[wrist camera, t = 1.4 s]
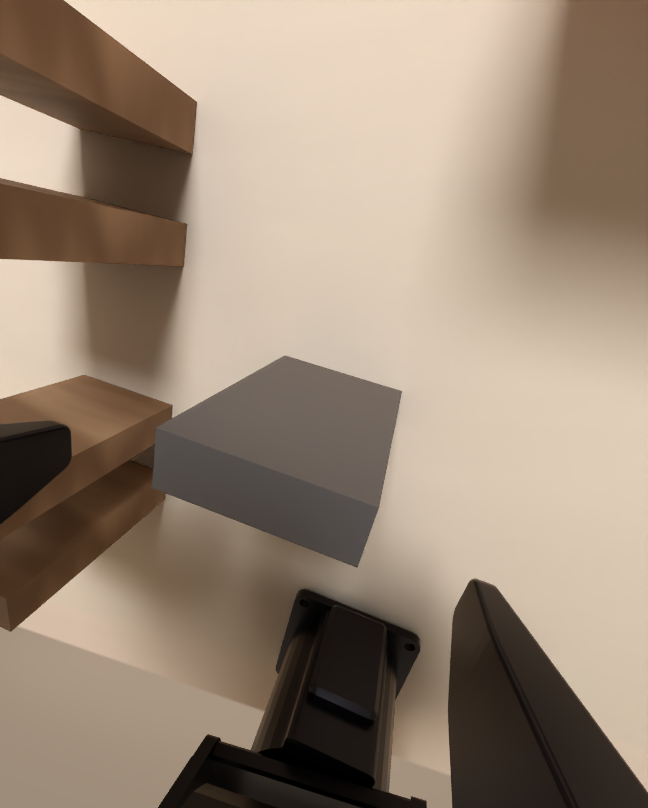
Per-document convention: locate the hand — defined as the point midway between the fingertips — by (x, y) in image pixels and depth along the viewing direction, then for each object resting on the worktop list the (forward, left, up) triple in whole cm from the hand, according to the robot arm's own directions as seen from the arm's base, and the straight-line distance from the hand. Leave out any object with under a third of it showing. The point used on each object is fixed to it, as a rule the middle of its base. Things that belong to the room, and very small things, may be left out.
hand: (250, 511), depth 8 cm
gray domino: (0, 0, -8) cm, 8 cm away
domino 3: (-4, +10, -8) cm, 14 cm away
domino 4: (-8, +10, -8) cm, 15 cm away
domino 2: (+4, +10, -8) cm, 14 cm away
